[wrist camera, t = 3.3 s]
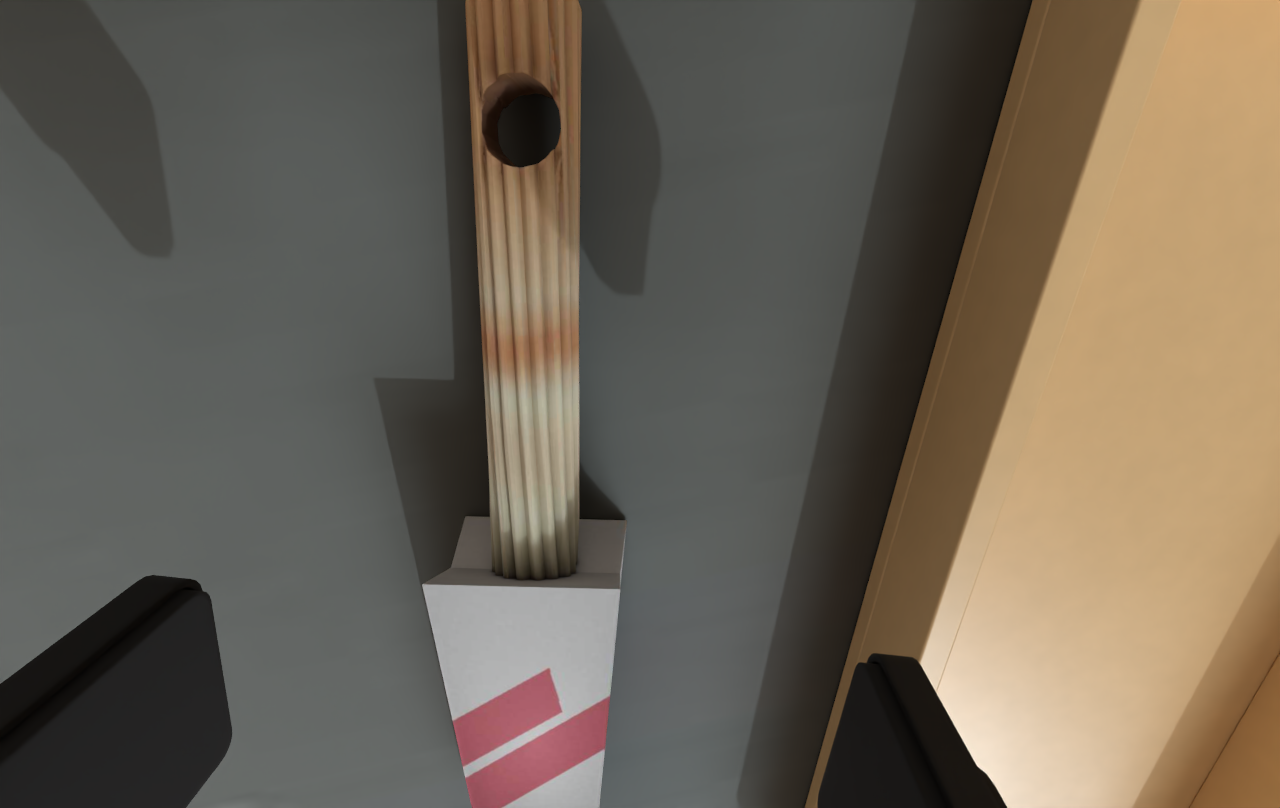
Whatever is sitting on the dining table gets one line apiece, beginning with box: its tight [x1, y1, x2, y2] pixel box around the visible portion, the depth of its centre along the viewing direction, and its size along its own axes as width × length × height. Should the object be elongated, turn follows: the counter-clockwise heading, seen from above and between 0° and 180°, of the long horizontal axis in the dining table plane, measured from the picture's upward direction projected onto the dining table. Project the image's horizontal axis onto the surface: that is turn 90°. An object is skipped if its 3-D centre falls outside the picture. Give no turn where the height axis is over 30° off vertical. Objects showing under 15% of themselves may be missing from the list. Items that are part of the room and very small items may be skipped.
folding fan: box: [422, 0, 627, 808], centre depth 13 cm, size 4×3×20 cm
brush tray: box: [805, 0, 1280, 808], centre depth 13 cm, size 11×24×3 cm, turn 174°
